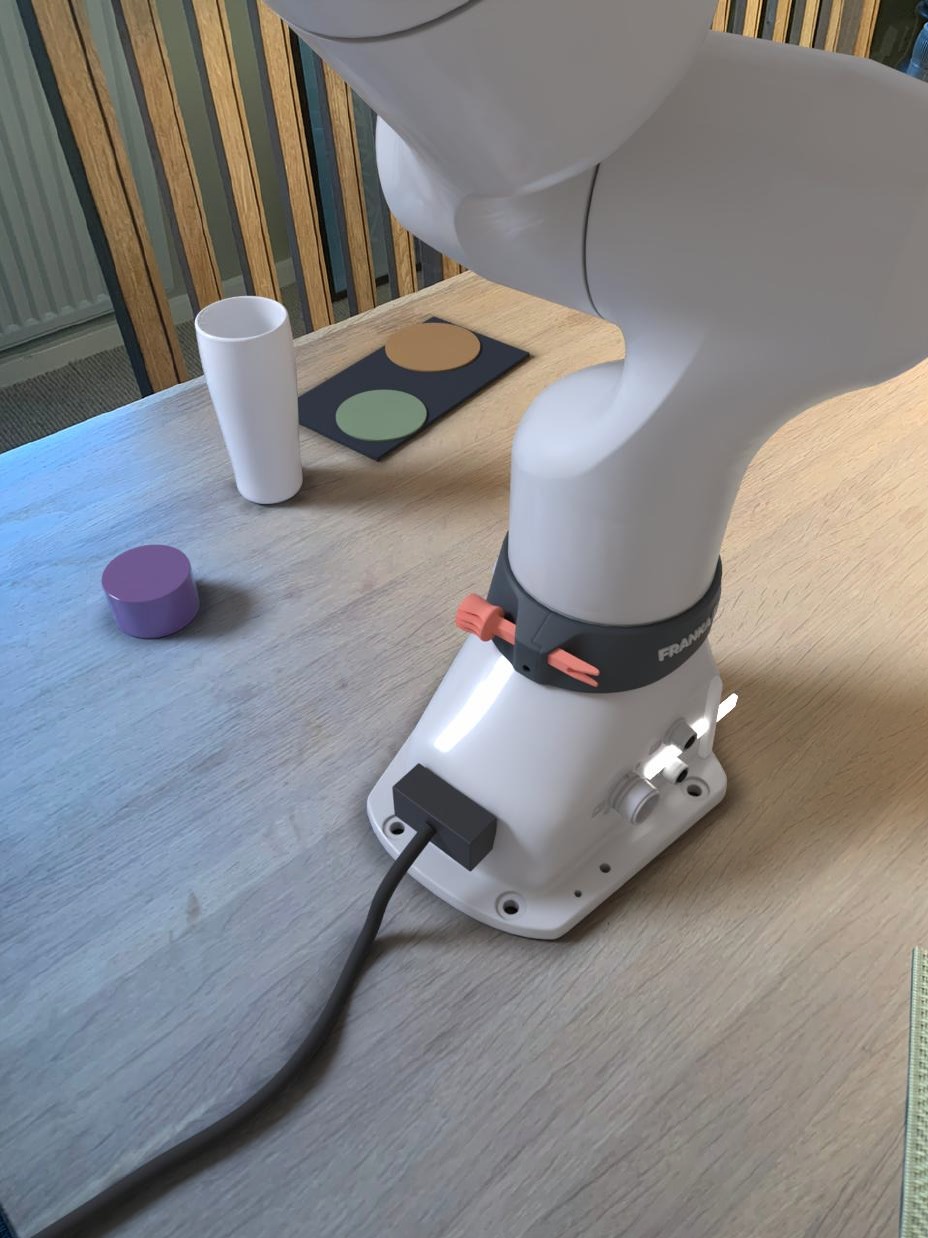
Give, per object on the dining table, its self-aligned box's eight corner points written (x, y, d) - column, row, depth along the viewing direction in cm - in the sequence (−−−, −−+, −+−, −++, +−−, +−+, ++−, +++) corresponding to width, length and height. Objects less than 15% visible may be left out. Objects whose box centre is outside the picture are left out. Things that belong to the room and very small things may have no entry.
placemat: (377, 461, 83) (377, 456, 83) (272, 411, 89) (271, 405, 88) (529, 356, 96) (530, 350, 95) (429, 317, 101) (429, 312, 101)
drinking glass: (297, 517, 78) (270, 344, 67) (216, 507, 79) (177, 335, 68) (323, 467, 83) (302, 298, 72) (246, 458, 84) (214, 290, 73)
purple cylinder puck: (150, 651, 68) (139, 614, 65) (96, 613, 70) (82, 577, 68) (217, 603, 71) (208, 567, 69) (163, 569, 74) (152, 533, 71)
